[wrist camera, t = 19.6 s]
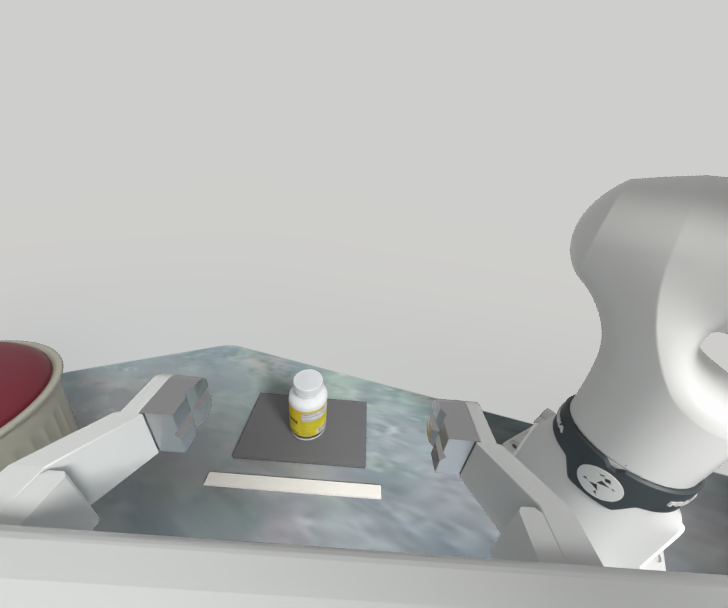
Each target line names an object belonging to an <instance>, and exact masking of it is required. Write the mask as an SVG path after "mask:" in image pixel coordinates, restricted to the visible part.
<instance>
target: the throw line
mask: <svg viewBox="0 0 728 608" xmlns="http://www.w3.org/2000/svg"><path fill="white" fill-rule="evenodd" d="M203 485H204V486H214V487H227V488H240V489H253V490H266V491H279V492H292V493H305V494H318V495H331V496H344V497H357V498H370V499H381V485H370V484H357V483H344V482H332V481H319V480H306V479H294V478H281V477H268V476H256V475H243V474H230V473H218V472H209V474H208V476H207V478H206V480H205V482H204V484H203Z"/></svg>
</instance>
